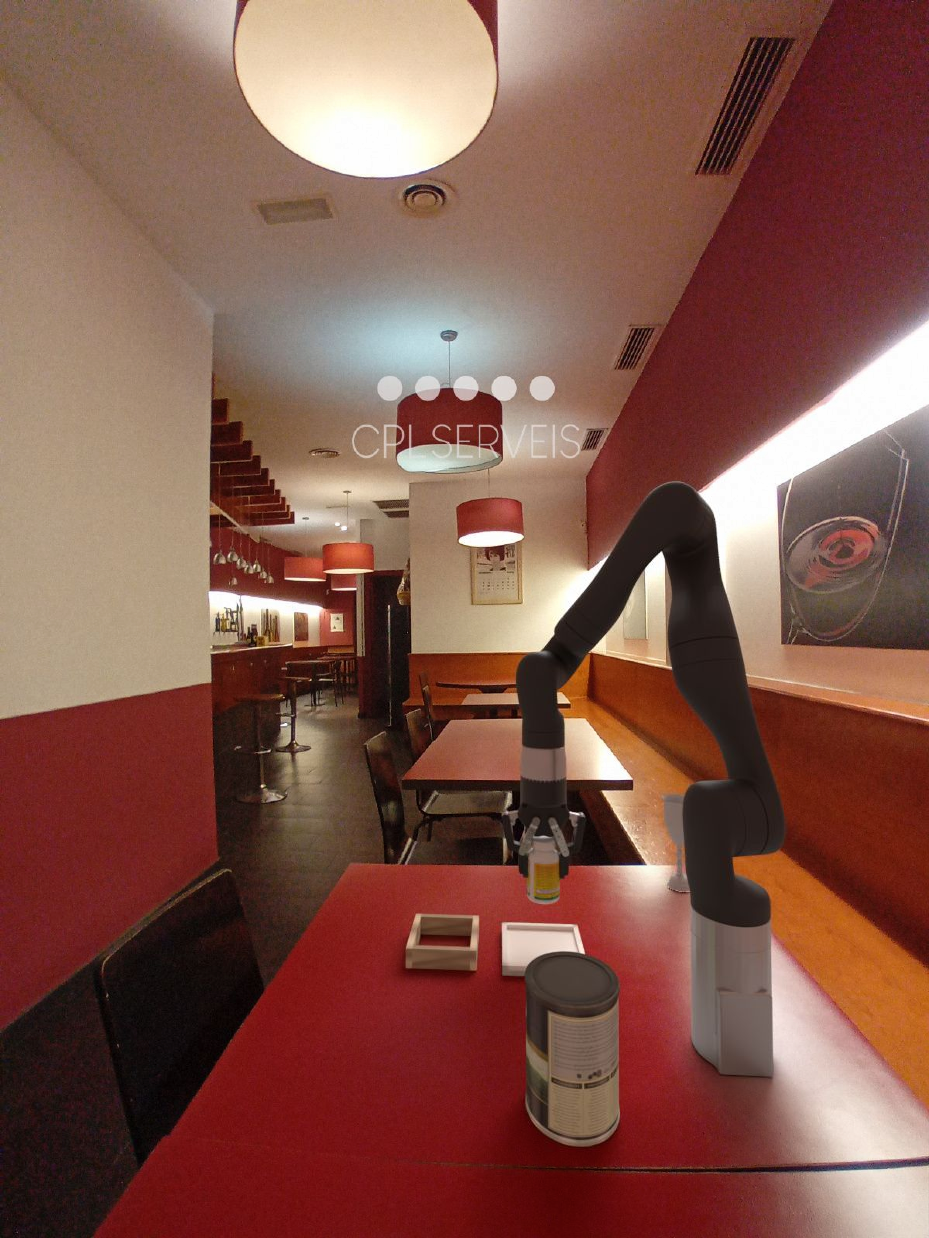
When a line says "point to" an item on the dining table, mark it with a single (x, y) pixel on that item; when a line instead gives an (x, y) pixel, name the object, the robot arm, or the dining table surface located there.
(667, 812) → the chalice
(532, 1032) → the coffee can
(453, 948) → the oak holder
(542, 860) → the supplement bottle
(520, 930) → the ceramic tray
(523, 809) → the robot arm
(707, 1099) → the dining table surface
